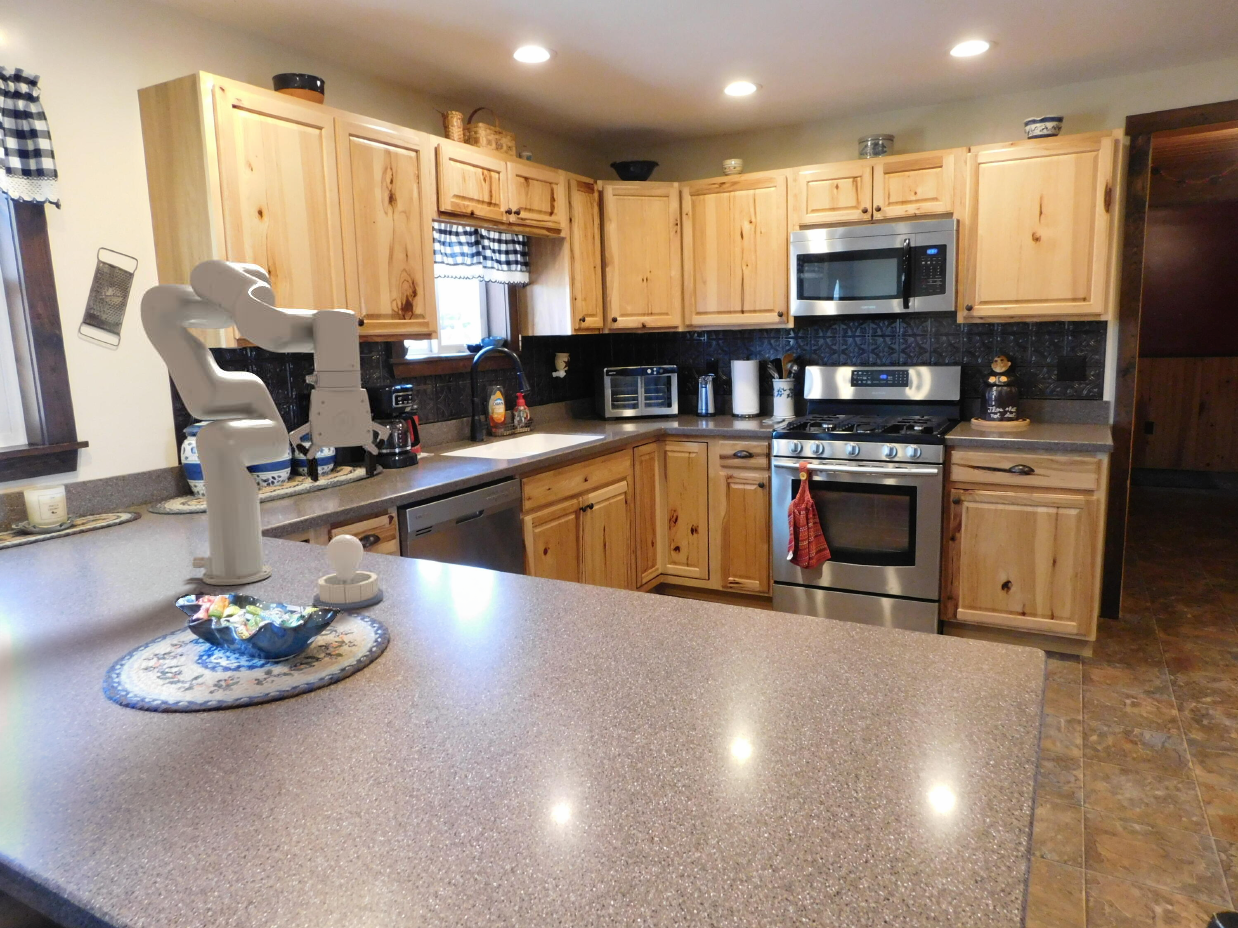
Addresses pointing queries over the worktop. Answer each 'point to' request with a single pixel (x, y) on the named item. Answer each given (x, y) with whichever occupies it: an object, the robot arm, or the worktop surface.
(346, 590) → the holder
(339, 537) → the lightbulb
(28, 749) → the worktop surface
